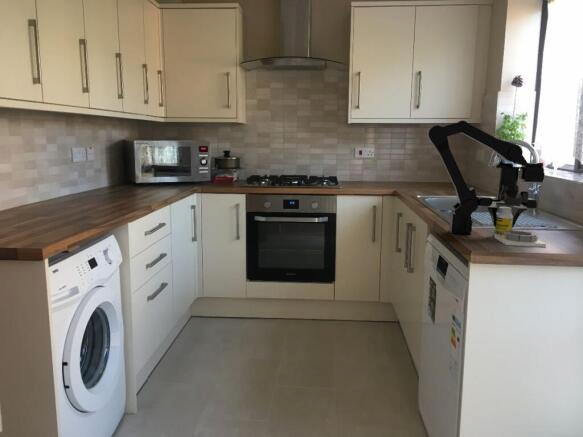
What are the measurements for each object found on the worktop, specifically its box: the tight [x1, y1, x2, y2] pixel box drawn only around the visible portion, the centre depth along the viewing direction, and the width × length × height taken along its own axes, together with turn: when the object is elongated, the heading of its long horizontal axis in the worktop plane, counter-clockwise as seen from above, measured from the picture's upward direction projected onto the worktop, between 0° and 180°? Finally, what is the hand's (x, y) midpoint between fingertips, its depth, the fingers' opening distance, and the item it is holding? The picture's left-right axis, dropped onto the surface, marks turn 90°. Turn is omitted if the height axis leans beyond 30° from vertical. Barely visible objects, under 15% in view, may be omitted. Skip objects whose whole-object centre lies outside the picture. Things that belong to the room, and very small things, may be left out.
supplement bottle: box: [493, 206, 513, 236], centre depth 161 cm, size 5×5×10 cm
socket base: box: [493, 229, 547, 248], centre depth 151 cm, size 12×11×3 cm
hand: (503, 227), depth 161 cm, fingers closed on supplement bottle, 5 cm apart
